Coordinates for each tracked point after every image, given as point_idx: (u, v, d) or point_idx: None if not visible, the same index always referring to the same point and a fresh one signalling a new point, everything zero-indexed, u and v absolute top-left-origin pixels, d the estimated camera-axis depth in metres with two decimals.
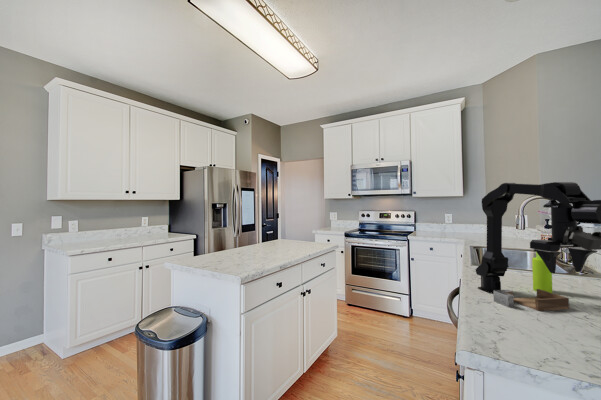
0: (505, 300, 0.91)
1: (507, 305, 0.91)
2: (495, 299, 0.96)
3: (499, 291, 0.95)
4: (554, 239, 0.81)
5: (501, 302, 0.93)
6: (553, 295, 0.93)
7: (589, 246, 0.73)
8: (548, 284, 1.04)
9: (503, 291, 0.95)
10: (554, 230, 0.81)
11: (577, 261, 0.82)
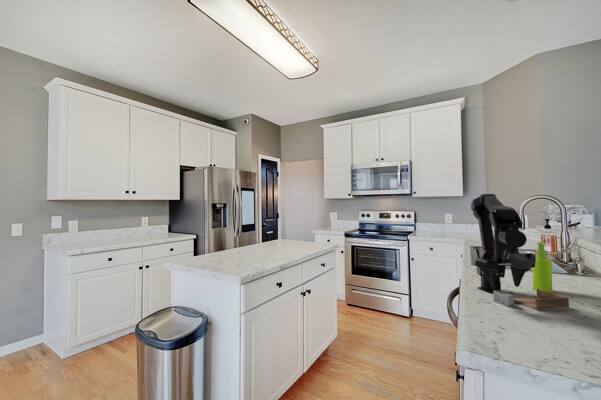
0: (505, 300, 0.91)
1: (507, 305, 0.91)
2: (495, 299, 0.96)
3: (499, 291, 0.95)
4: (496, 258, 0.93)
5: (501, 302, 0.93)
6: (553, 295, 0.93)
7: (520, 266, 0.85)
8: (548, 284, 1.04)
9: (503, 291, 0.95)
10: (496, 250, 0.93)
11: (516, 277, 0.93)
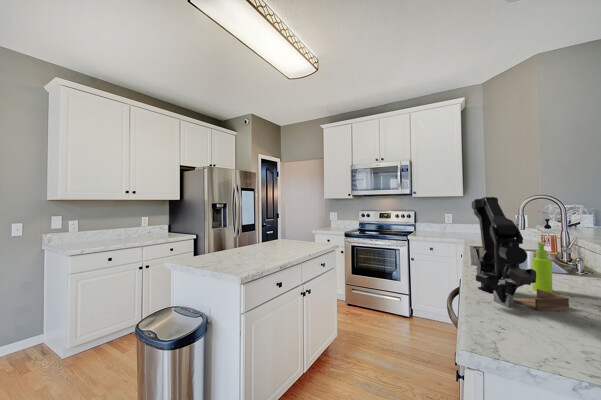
0: (505, 300, 0.91)
1: (507, 305, 0.91)
2: (495, 299, 0.96)
3: None
4: (496, 273, 0.93)
5: (501, 302, 0.93)
6: (553, 295, 0.93)
7: (521, 282, 0.85)
8: (548, 284, 1.04)
9: None
10: (496, 265, 0.93)
11: (508, 292, 0.93)
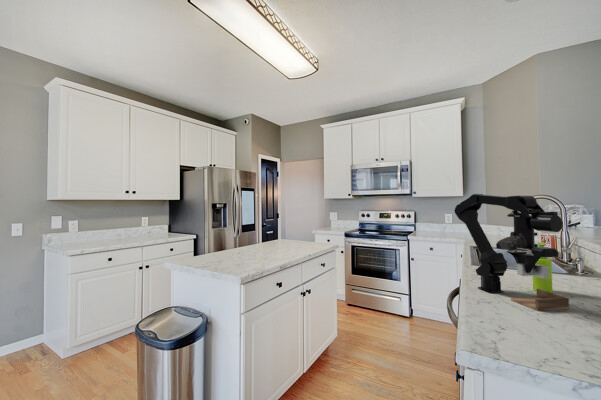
0: None
1: None
2: None
3: None
4: None
5: None
6: (553, 295, 0.93)
7: (500, 246, 0.97)
8: (548, 284, 1.04)
9: None
10: None
11: None
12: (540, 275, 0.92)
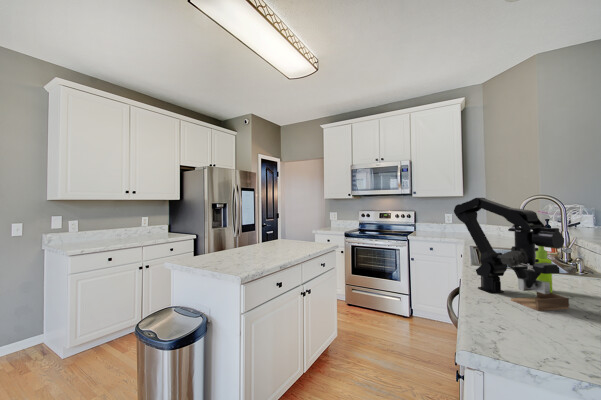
0: None
1: None
2: None
3: None
4: None
5: None
6: (553, 295, 0.93)
7: (501, 261, 0.97)
8: None
9: None
10: None
11: None
12: (541, 291, 0.92)
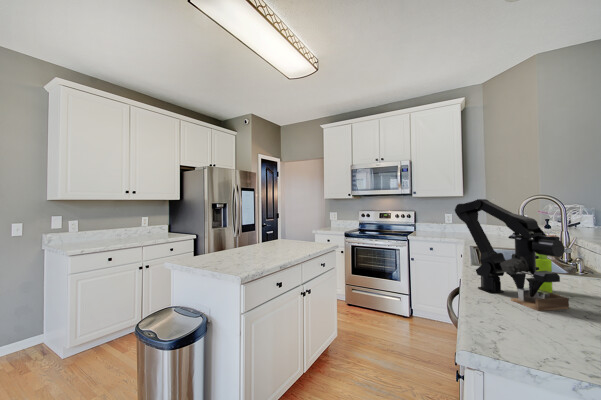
0: None
1: None
2: None
3: None
4: None
5: None
6: (553, 295, 0.93)
7: (502, 268, 0.96)
8: (548, 284, 1.04)
9: None
10: None
11: None
12: None
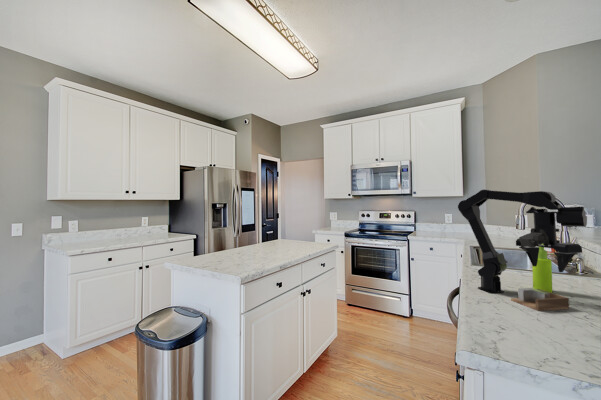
0: None
1: None
2: None
3: (532, 289, 0.96)
4: None
5: None
6: (553, 295, 0.93)
7: (521, 243, 0.95)
8: (548, 284, 1.04)
9: (535, 290, 0.94)
10: None
11: None
12: None
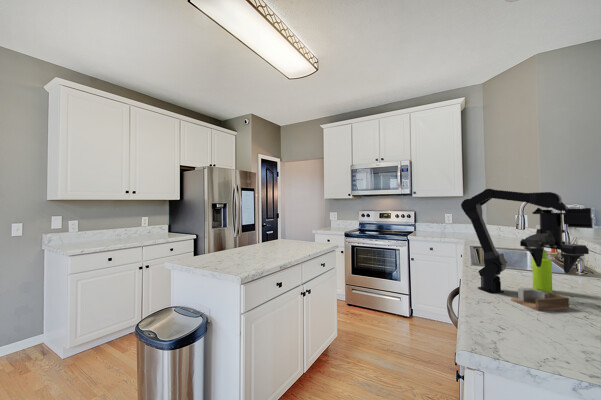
0: None
1: None
2: None
3: (532, 289, 0.96)
4: None
5: None
6: (553, 295, 0.93)
7: (527, 243, 0.95)
8: (548, 284, 1.04)
9: (535, 290, 0.94)
10: None
11: None
12: None
